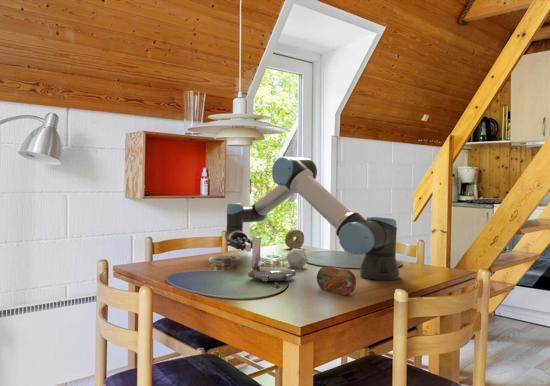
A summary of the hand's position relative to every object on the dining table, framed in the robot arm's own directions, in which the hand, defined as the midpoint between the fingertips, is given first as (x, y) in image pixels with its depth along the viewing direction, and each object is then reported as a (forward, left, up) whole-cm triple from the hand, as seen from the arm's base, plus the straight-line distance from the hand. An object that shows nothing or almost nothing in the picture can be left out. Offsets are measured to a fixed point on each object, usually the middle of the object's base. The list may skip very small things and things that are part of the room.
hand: (249, 248), depth 192 cm
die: (-6, -21, -10) cm, 24 cm away
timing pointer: (-25, +9, -9) cm, 28 cm away
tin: (-43, -1, -10) cm, 44 cm away
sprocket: (-16, +3, -8) cm, 18 cm away
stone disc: (+29, -56, -10) cm, 64 cm away
